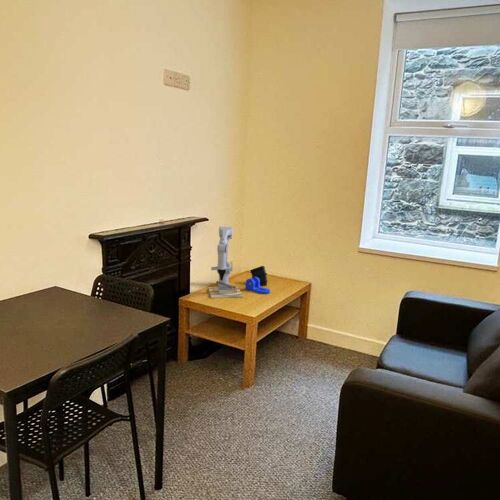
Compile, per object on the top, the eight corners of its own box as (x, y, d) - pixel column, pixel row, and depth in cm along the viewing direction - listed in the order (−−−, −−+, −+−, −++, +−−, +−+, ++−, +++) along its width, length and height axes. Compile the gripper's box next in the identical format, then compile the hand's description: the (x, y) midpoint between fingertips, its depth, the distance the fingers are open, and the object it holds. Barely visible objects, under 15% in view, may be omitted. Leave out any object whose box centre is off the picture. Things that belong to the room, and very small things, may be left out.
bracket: (245, 289, 325) (245, 278, 323) (252, 287, 332) (252, 275, 330) (265, 295, 315) (266, 283, 313) (272, 292, 321) (272, 280, 319)
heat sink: (217, 289, 318) (217, 285, 317) (231, 289, 320) (231, 285, 319) (219, 294, 308) (219, 290, 308) (233, 293, 310) (233, 289, 310)
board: (208, 289, 322) (208, 287, 322) (238, 288, 326) (238, 287, 326) (211, 298, 303) (211, 296, 303) (242, 297, 307) (243, 296, 307)
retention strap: (215, 282, 313) (216, 280, 313) (235, 288, 317) (235, 286, 317) (216, 283, 310) (217, 281, 310) (235, 289, 313) (236, 287, 313)
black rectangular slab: (269, 285, 333) (262, 266, 333) (254, 289, 339) (247, 271, 338) (271, 283, 336) (264, 265, 336) (256, 288, 342) (249, 270, 342)
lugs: (212, 290, 316) (212, 285, 315) (235, 290, 319) (235, 285, 318) (213, 293, 310) (213, 288, 309) (236, 292, 313) (237, 288, 312)
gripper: (212, 262, 304) (211, 281, 306) (233, 262, 306) (232, 281, 309) (211, 260, 310) (210, 278, 313) (231, 260, 313) (231, 278, 316)
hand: (221, 279), depth 312 cm, fingers closed
